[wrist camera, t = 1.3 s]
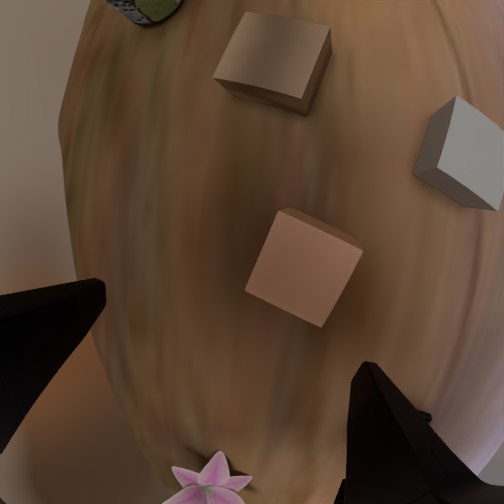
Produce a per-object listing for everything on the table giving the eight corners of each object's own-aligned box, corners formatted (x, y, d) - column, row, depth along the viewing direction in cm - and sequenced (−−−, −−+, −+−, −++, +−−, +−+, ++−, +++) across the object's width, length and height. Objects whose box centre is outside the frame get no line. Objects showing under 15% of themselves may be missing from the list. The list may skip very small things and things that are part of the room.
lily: (260, 490, 29) (265, 528, 19) (188, 498, 28) (177, 533, 18) (241, 433, 31) (241, 468, 22) (162, 442, 30) (142, 474, 21)
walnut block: (331, 54, 16) (330, 26, 12) (307, 117, 17) (301, 98, 14) (260, 37, 17) (245, 11, 13) (233, 96, 18) (212, 77, 15)
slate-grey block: (480, 150, 14) (514, 141, 9) (463, 206, 15) (497, 211, 10) (430, 116, 15) (456, 95, 10) (411, 173, 16) (437, 167, 11)
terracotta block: (355, 236, 18) (363, 251, 13) (324, 297, 20) (321, 327, 15) (291, 207, 19) (278, 210, 14) (264, 268, 20) (244, 290, 16)
